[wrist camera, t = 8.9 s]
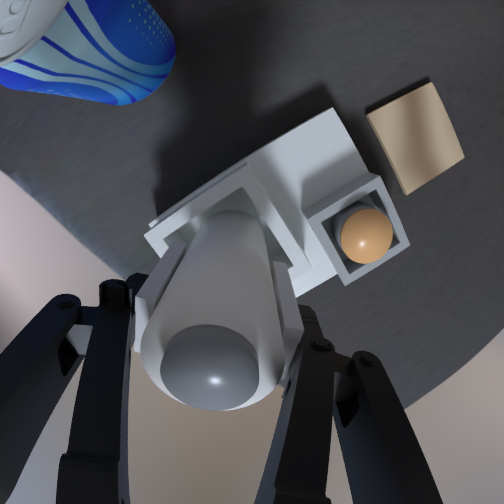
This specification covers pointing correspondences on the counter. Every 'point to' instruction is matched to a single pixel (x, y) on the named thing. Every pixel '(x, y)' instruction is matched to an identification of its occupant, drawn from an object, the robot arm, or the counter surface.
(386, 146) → the coaster
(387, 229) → the tan dome
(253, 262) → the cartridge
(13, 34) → the beer can
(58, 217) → the counter surface
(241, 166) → the housing
